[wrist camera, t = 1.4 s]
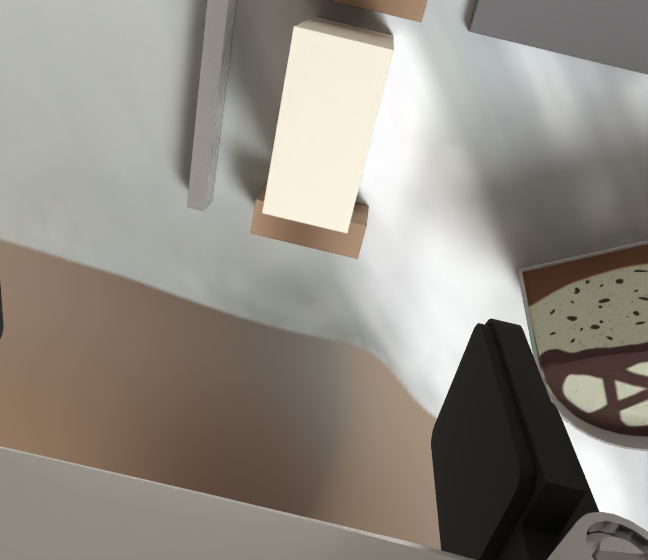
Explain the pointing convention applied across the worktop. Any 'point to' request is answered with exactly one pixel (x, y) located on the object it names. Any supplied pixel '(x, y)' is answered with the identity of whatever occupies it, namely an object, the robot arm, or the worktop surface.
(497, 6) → the mat
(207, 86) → the blocks
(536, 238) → the worktop surface
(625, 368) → the food container
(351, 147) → the cream cuboid
